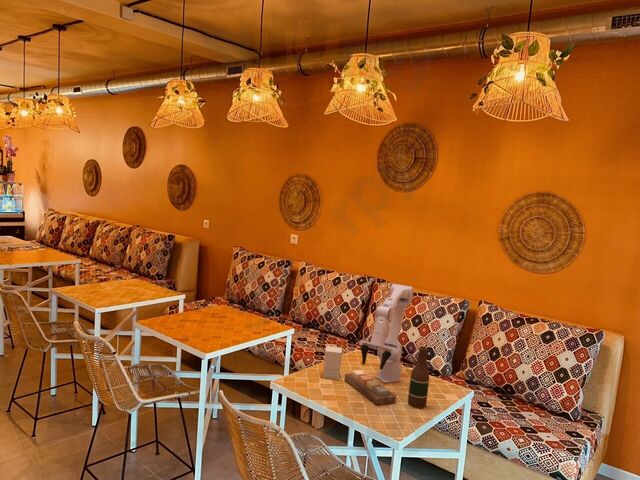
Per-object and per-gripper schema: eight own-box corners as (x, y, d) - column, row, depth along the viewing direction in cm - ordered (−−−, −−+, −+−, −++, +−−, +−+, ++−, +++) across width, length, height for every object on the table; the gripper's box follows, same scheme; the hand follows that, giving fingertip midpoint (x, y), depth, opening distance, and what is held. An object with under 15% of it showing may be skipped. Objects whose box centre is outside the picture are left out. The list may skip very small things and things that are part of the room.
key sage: (374, 385, 206) (375, 380, 206) (380, 390, 202) (381, 384, 202) (366, 386, 204) (366, 381, 204) (371, 391, 200) (372, 385, 200)
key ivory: (360, 375, 216) (360, 370, 216) (365, 379, 212) (365, 373, 212) (351, 376, 214) (352, 370, 214) (356, 379, 210) (357, 374, 210)
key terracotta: (367, 380, 211) (367, 375, 211) (372, 384, 207) (373, 379, 207) (358, 381, 209) (359, 375, 209) (364, 385, 205) (364, 379, 205)
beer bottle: (422, 410, 192) (429, 352, 190) (404, 404, 196) (411, 347, 194) (428, 404, 199) (436, 347, 196) (411, 398, 203) (417, 343, 200)
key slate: (382, 391, 200) (383, 386, 200) (388, 396, 197) (389, 390, 196) (373, 392, 198) (374, 387, 198) (379, 397, 195) (380, 391, 194)
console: (361, 378, 219) (362, 372, 219) (395, 403, 196) (396, 396, 196) (344, 380, 215) (345, 374, 215) (376, 406, 192) (377, 398, 192)
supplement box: (339, 374, 222) (342, 347, 221) (338, 380, 215) (341, 352, 214) (323, 372, 223) (326, 345, 222) (322, 378, 216) (325, 350, 214)
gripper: (365, 329, 198) (357, 362, 194) (398, 338, 199) (391, 371, 195) (361, 329, 204) (353, 362, 201) (393, 339, 206) (386, 371, 202)
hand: (372, 366), depth 199 cm, fingers open, 7 cm apart
